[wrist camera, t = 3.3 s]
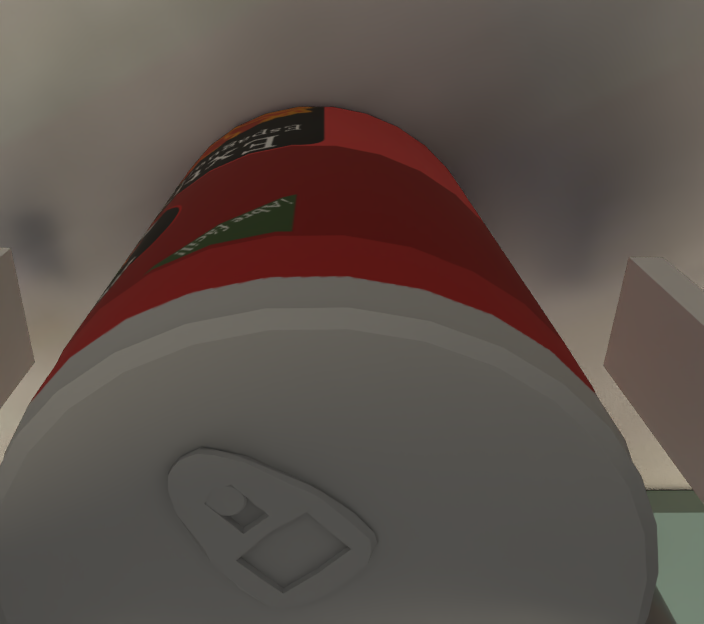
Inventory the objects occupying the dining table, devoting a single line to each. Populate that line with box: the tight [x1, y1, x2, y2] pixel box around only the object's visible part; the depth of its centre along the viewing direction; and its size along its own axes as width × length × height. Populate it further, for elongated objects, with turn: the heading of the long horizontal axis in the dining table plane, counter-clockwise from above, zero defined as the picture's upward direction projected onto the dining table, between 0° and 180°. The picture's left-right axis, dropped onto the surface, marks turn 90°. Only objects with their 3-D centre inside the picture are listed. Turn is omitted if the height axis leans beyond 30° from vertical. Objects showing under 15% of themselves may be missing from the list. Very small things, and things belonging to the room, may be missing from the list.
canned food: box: [0, 107, 659, 624], centre depth 13 cm, size 8×8×11 cm
